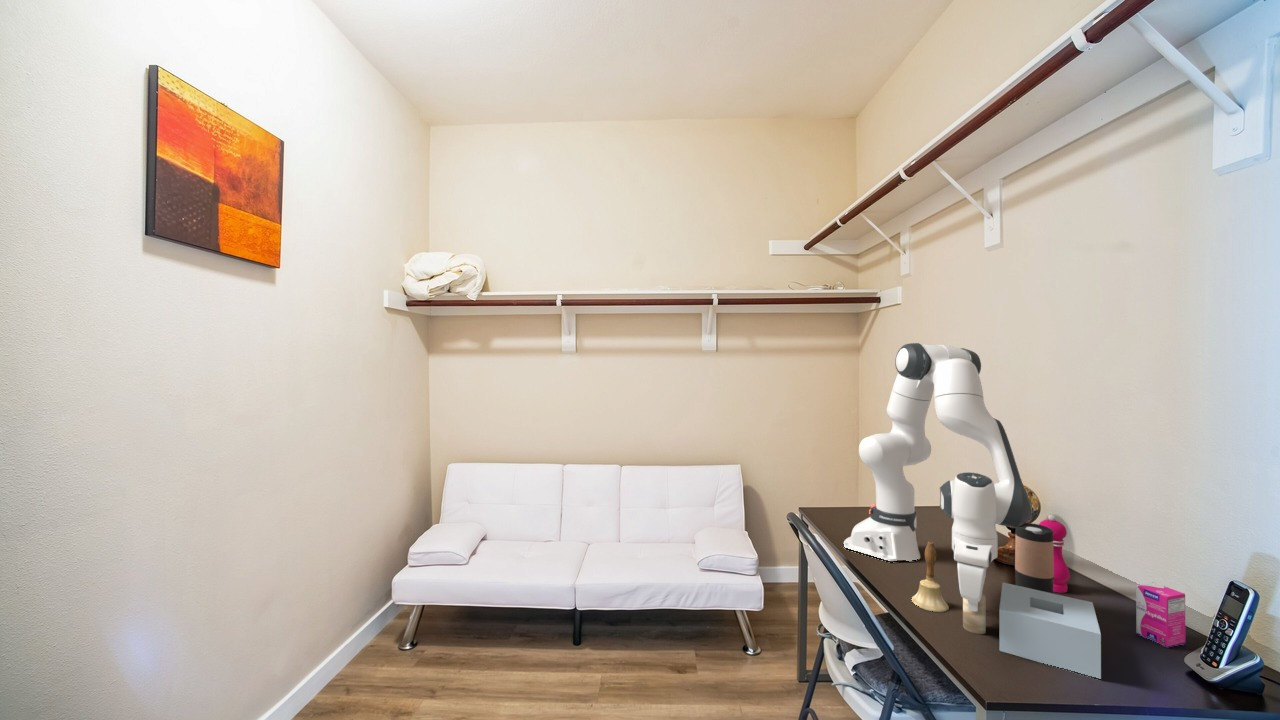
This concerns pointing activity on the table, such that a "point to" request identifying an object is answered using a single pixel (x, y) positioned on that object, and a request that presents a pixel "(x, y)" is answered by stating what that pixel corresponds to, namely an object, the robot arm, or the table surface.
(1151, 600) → the supplement box
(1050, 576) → the travel mug
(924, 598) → the hand bell
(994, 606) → the table surface
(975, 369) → the robot arm
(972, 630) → the peg
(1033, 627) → the socket block
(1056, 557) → the pepper mill
